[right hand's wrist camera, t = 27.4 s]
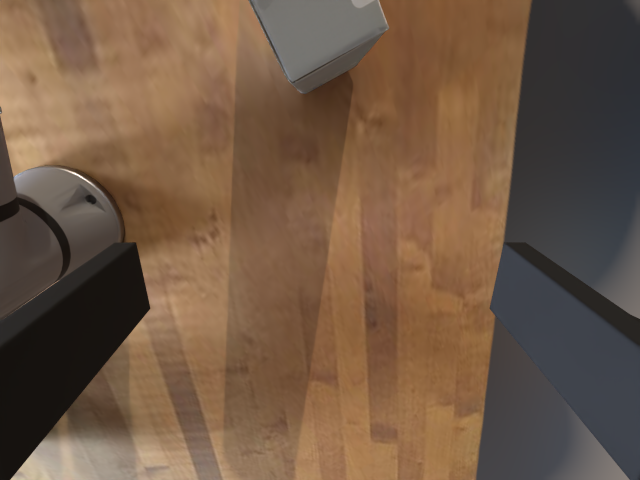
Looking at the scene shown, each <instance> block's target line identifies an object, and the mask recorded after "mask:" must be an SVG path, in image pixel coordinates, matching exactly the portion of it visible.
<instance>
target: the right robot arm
mask: <svg viewBox="0 0 640 480" xmlns="http://www.w3.org/2000/svg"><path fill="white" fill-rule="evenodd" d="M0 113H2V110H1V107H0ZM123 239H124V223H123V218H122V215H121V212H120V210H119V208H118V206H117V204H116V202H115V200H114V199H113V198H112V196H111V195H110V194H109V192H108V191H107V190H106V189H105V188H104V187H103V186H102V185H101V184H99V183H98V182H97V181H96V180H94V179H93V178H91V177H90V176H88V175H86V174H85V173H83V172H80V171H78V170H76V169H73V168H69V167H65V166H59V165H47V166H41V167H36V168H32V169H28V170H26V171H24V172H22V173H20V174H18V175H16V176H14V177H13V173H12V168H11V164H10V159H9V154H8V150H7V145H6V141H5V136H4V131H3V127H2V122H1V118H0V480H10V479H11V478H12V477H13V476H14V474H15V473H16V472H17V471H18V469H19V468H20V467H21V466H22V465H23V463H24V462H25V461H26V460H27V458H28V457H29V456H30V455H31V454H32V452H33V451H34V450H35V449H36V447H37V446H38V445H39V444H40V443H41V441H42V440H43V439H44V438H45V437H46V435H47V434H48V433H49V432H50V430H51V429H52V428H53V427H54V426H55V424H56V423H57V422H58V421H59V419H60V418H61V417H62V416H63V415H64V413H65V412H66V411H67V410H68V408H69V407H70V406H71V405H72V404H73V402H74V401H75V400H76V399H77V397H78V396H79V395H80V394H81V393H82V391H83V390H84V389H85V388H86V386H87V385H88V384H89V383H90V382H91V380H92V379H93V378H94V377H95V375H96V374H97V373H98V372H99V371H100V369H101V368H102V367H103V366H104V364H105V363H106V362H107V361H108V360H109V358H110V357H111V356H112V355H113V353H114V352H115V351H116V350H117V349H118V347H119V346H120V345H121V344H122V342H123V341H124V340H125V339H126V338H127V336H128V335H129V334H130V333H131V331H132V330H133V329H134V328H135V327H136V325H137V324H138V323H139V322H140V320H141V319H142V318H143V317H144V316H145V314H146V313H147V312H148V311H149V309H150V305H149V300H148V296H147V291H146V286H145V282H144V277H143V272H142V268H141V263H140V259H139V254H138V249H137V245H136V243H123ZM58 280H60V281H58ZM56 281H58V282H57V283H55V282H56ZM53 283H55V284H54V285H52V284H53ZM51 285H52V286H51ZM49 286H51V287H49ZM48 287H49V288H48ZM46 288H48V289H46ZM45 289H46V290H45ZM44 290H45V291H44ZM42 291H44V292H42ZM41 292H42V293H41ZM39 293H41V294H39ZM38 294H39V295H38ZM37 295H38V296H37ZM35 296H36V297H35ZM34 297H35V298H34ZM32 298H33V299H32ZM31 299H32V300H31ZM28 301H29V302H28ZM27 302H28V303H27ZM25 303H26V304H25ZM24 304H25V305H24ZM22 305H23V306H22ZM21 306H22V307H21ZM18 308H19V309H18ZM490 309H491V311H492V312H493V313H494V314H495V316H496V317H497V318H498V319H499V320H500V322H501V323H502V324H503V325H504V327H505V328H506V329H507V330H508V331H509V333H510V334H511V335H512V336H513V337H514V339H515V340H516V341H517V342H518V344H519V345H520V346H521V347H522V349H523V350H524V351H525V352H526V353H527V355H528V356H529V357H530V358H531V360H532V361H533V362H534V363H535V364H536V366H537V367H538V368H539V369H540V371H541V372H542V373H543V374H544V375H545V377H546V378H547V379H548V380H549V381H550V383H551V384H552V385H553V386H554V388H555V389H556V390H557V391H558V393H559V394H560V395H561V396H562V397H563V399H564V400H565V401H566V402H567V404H568V405H569V406H570V407H571V408H572V410H573V411H574V412H575V413H576V414H577V416H578V417H579V418H580V419H581V421H582V422H583V423H584V424H585V425H586V427H587V428H588V429H589V430H590V432H591V433H592V434H593V435H594V436H595V438H596V439H597V440H598V441H599V443H600V444H601V445H602V446H603V447H604V449H605V450H606V451H607V452H608V454H609V455H610V456H611V457H612V458H613V460H614V461H615V462H616V463H617V465H618V466H619V467H620V468H621V469H622V471H623V472H624V473H625V474H626V476H627V477H628V478H629V479H630V480H640V319H638V318H636V317H634V316H632V315H630V314H628V313H627V312H626V311H624V310H623V309H621V308H620V307H618V306H617V305H615V304H614V303H612V302H611V301H610V300H608V299H607V298H605V297H604V296H602V295H601V294H599V293H598V292H596V291H595V290H593V289H592V288H591V287H589V286H588V285H586V284H585V283H583V282H582V281H580V280H579V279H578V278H576V277H575V276H573V275H572V274H570V273H569V272H567V271H566V270H565V269H563V268H562V267H560V266H559V265H557V264H556V263H554V262H553V261H551V260H550V259H548V258H547V257H546V256H544V255H543V254H541V253H540V252H538V251H537V250H535V249H534V248H533V247H531V246H530V245H528V244H527V243H504V245H503V249H502V254H501V259H500V263H499V268H498V272H497V277H496V282H495V286H494V291H493V296H492V300H491V305H490ZM15 310H16V311H15ZM11 313H12V314H11ZM8 315H9V316H8ZM5 317H6V318H5Z"/></svg>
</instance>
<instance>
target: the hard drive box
mask: <svg viewBox="0 0 640 480" xmlns="http://www.w3.org/2000/svg"><path fill="white" fill-rule="evenodd" d="M249 2H250V4H251V7H252V9H253V11H254V13H255V15H256V17H257V19H258V21H259V23H260V25H261V27H262V30H263V32H264V34H265V36H266V38H267V40H268V42H269V44H270V46H271V48H272V50H273V52H274V54H275V56H276V58H277V60H278V62H279V64H280V66H281V68H282V70H283V72H284V74H285V76H286V78H287V79H288V81H289V82H290V83H291V84H292V85H293V86H294V87H295V88H296V89H297V90H298V91H299V92H300V93H304V94H306V93H308V92H310V91H312V90H314V89H316V88H318V87H319V86H321V85H323V84H325V83H327V82H328V81H330V80H332V79H334V78H336V77H337V76H339V75H341V74H343V73H345V72H346V71H348V70H350V69H352V68H353V67H355V66H356V65H357V64H358V63H359V61H360V60H361V59H362V58H363V57H364V56H365V55H366V53H367V52H368V51H369V50H370V49H371V48H372V47H373V45H374V44H375V43H376V42H377V41H378V39H379V38H380V37H381V36H382V34H383V33H384V32H385V31H386V30H388V29H389V26H388V24H387V21H386V19H385V16H384V13H383V11H382V8H381V5H380V2H379V0H249Z"/></svg>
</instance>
